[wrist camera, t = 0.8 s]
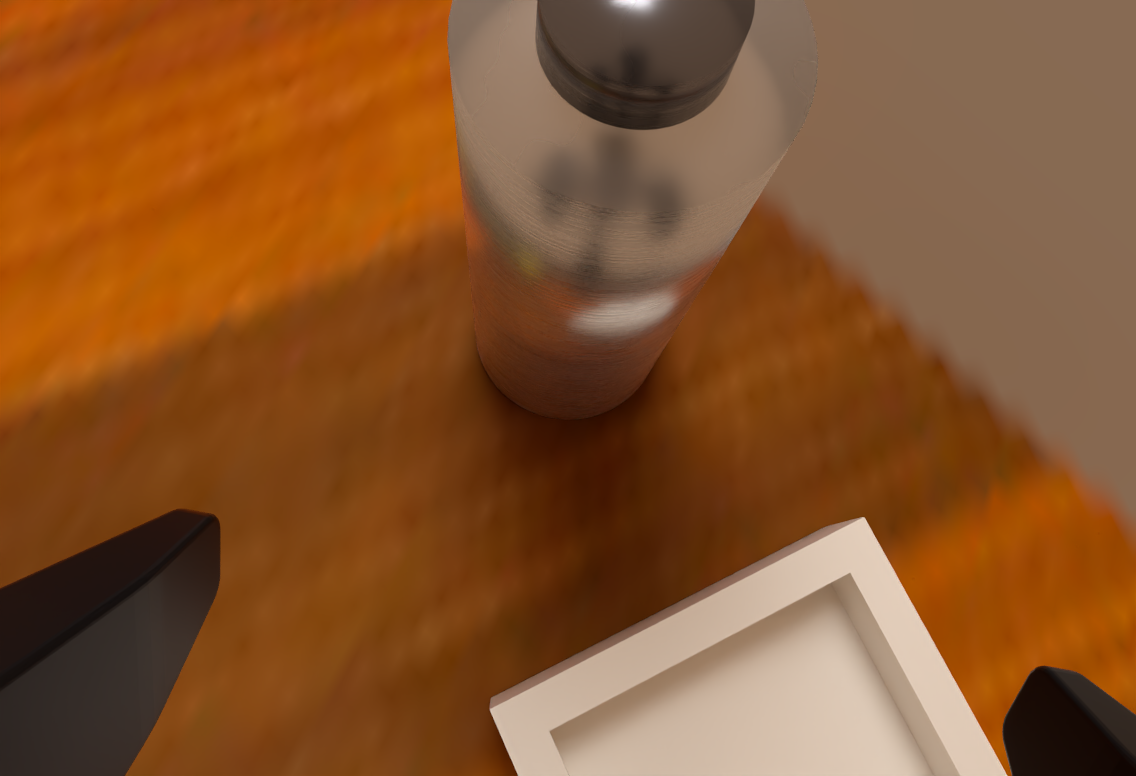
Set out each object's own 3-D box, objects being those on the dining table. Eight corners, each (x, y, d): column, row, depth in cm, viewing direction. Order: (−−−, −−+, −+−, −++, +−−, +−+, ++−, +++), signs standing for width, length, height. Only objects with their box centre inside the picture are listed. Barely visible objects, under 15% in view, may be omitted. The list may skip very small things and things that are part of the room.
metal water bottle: (522, 450, 23) (551, 236, 10) (446, 286, 24) (378, -106, 11) (689, 374, 24) (920, 85, 11) (608, 220, 25) (727, -216, 12)
